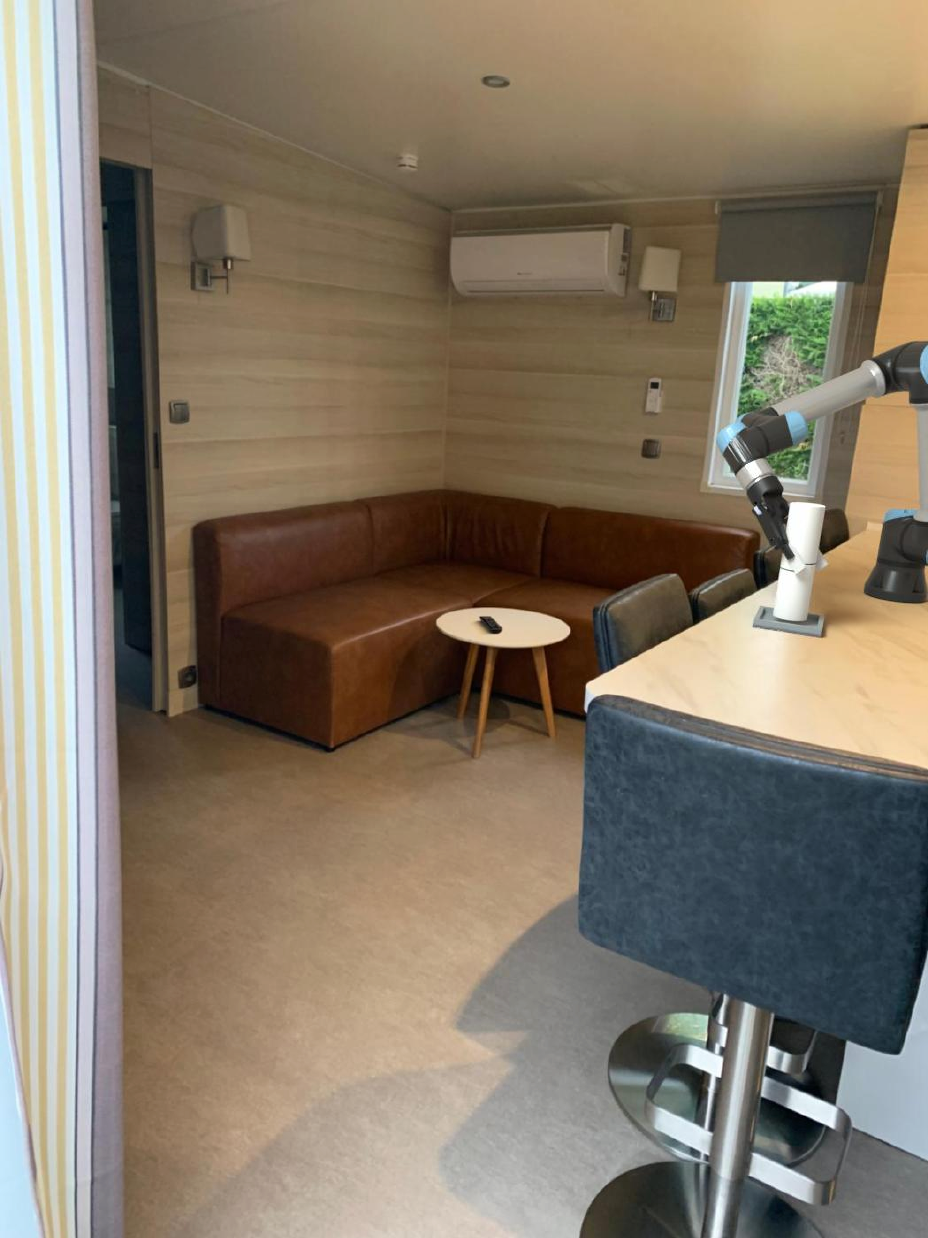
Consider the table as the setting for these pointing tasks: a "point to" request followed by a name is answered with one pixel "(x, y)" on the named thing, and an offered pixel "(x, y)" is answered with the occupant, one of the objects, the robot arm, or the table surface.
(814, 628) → the tray
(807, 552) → the cylindrical container
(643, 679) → the table surface
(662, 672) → the table surface
